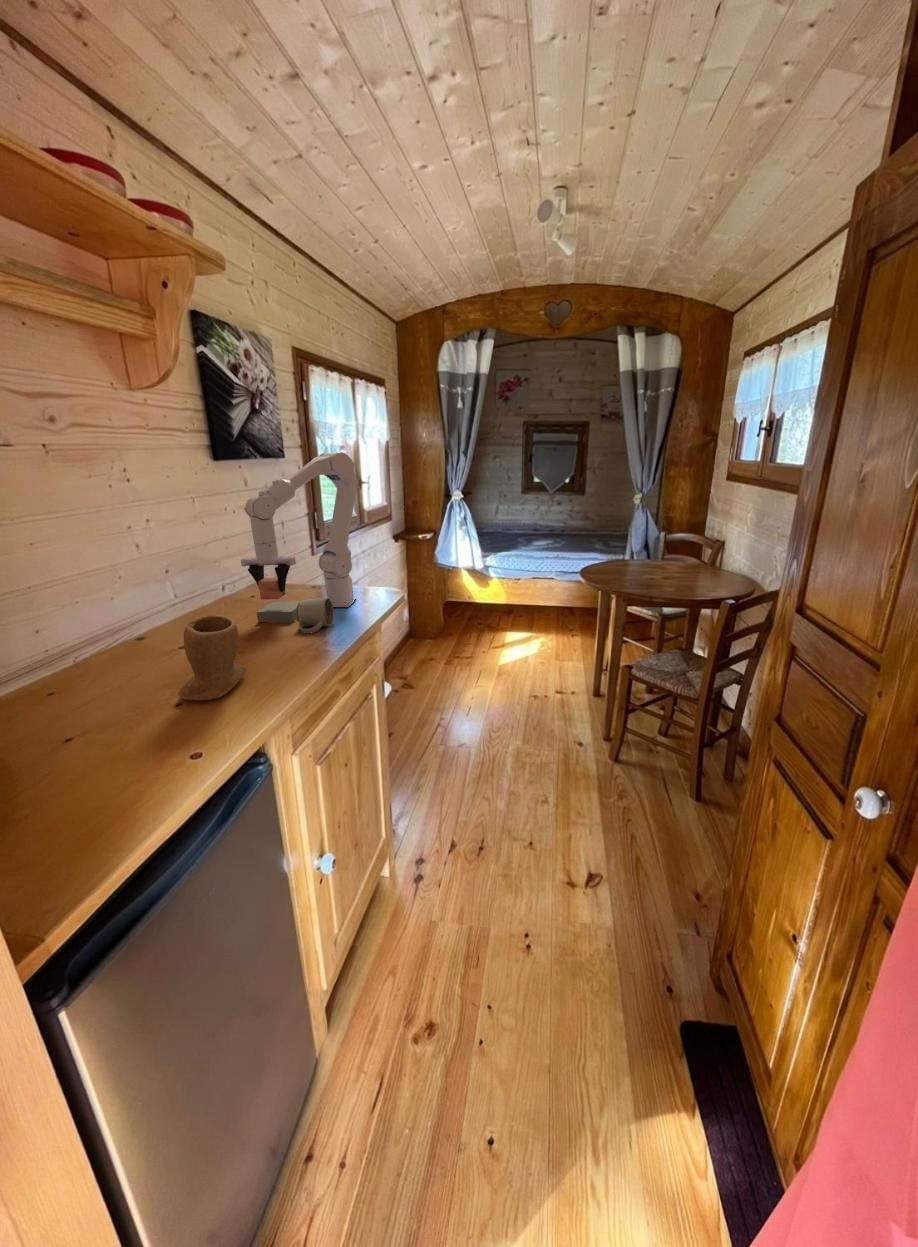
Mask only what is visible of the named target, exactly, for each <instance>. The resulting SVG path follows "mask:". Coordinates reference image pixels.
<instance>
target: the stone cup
mask: <svg viewBox="0 0 918 1247" xmlns="http://www.w3.org/2000/svg"><path fill="white" fill-rule="evenodd" d="M238 646H239V631H238V626H237V623H236V621H235V620H234V619H233V618H231V617H229V616H225V615H221V614H209V615H202V616H198V617H196V618H193V619H192V620H190V621H189V622H188V624H187V625H186V626H185V627H184V631H183V649H184V652H185V656H186V659H187V661H188V663H189V664H190V666H191V669H192V672H193V673H194V674H193V676H192V677H191V678H189V679H188V680H187V681H186V682H184V684H183V685H182V686H181V687H180V688H179V690H178V691H177V696H178V698H181V699H183V700H188V701H209V700H215V699H219V698H222V697H223V696H225V695H226V694H227V693H229V692H230V691H231V690H232V689H233V688H234V687H236V685H237V684H238V682H239V681H240V680H241V678H242V677H243V676H244V675H245V674H246V673H247V670H248V669H247V667H246V666H244V665H241V664H239V663H237V662H235V660H236V659H235V658H236V654H237V648H238Z"/></svg>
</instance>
